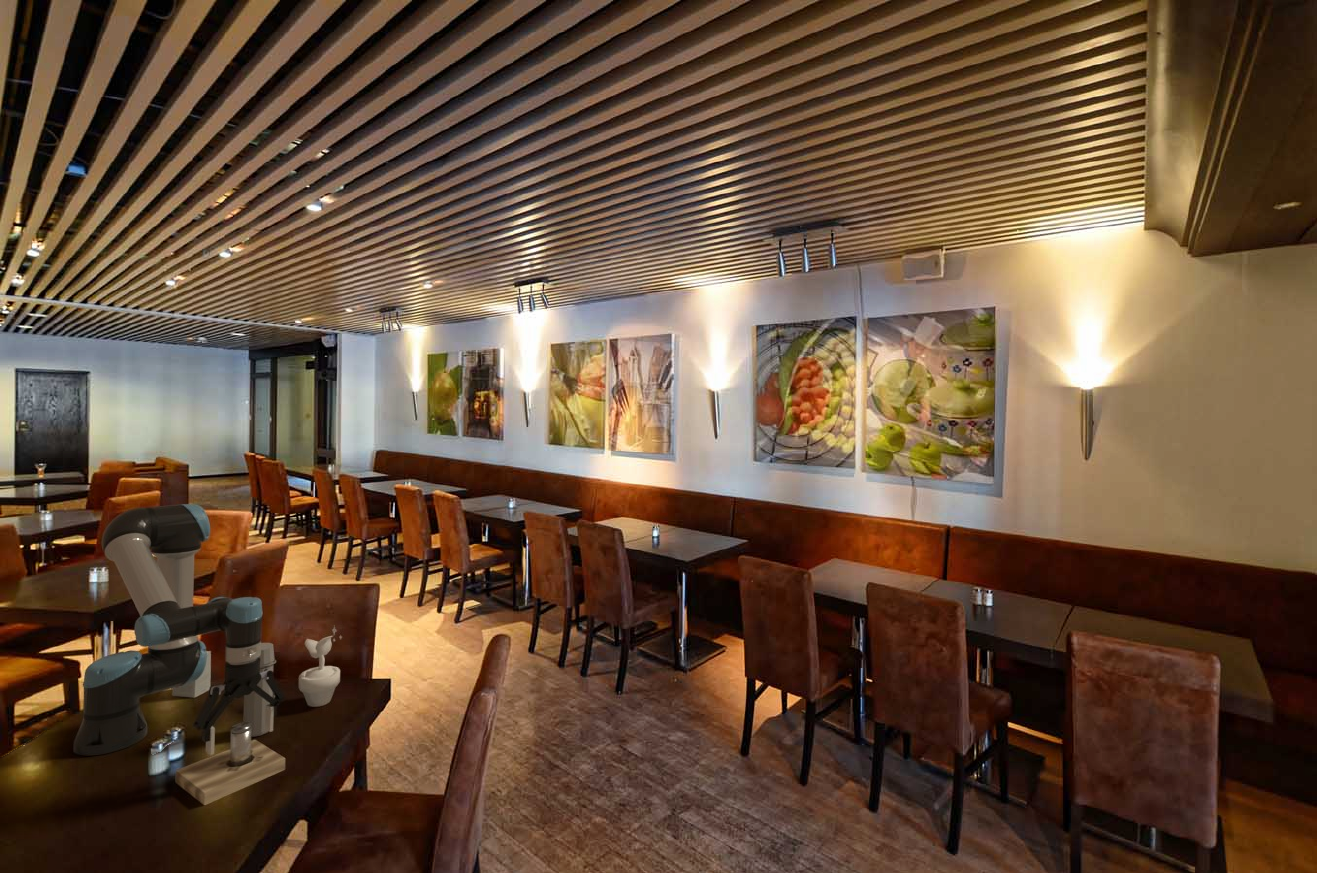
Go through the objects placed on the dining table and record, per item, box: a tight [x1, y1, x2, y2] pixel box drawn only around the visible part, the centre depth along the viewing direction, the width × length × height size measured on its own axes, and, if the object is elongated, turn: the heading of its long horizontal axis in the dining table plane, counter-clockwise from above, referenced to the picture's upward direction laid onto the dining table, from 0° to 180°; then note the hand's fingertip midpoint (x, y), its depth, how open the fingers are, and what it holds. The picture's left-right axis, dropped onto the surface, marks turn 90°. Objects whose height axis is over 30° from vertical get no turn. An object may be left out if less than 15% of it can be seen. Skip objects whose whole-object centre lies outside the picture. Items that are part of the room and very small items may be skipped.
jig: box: [174, 739, 286, 806], centre depth 152 cm, size 16×18×3 cm
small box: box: [171, 650, 212, 699], centre depth 196 cm, size 8×6×13 cm
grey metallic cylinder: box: [229, 721, 252, 767], centre depth 154 cm, size 4×4×12 cm
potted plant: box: [298, 624, 343, 708], centre depth 193 cm, size 13×12×25 cm
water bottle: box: [242, 642, 277, 738], centre depth 174 cm, size 9×8×25 cm
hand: (240, 741), depth 154 cm, fingers open, 13 cm apart
